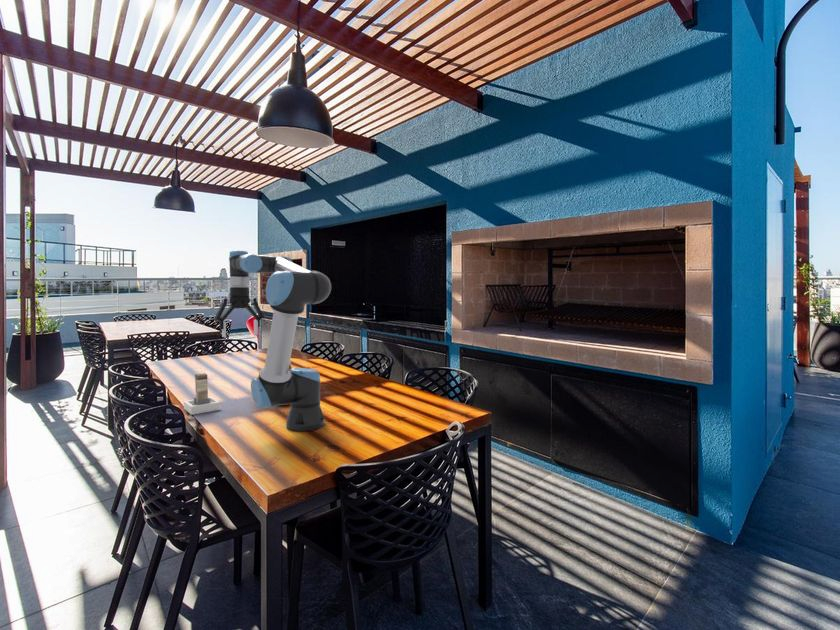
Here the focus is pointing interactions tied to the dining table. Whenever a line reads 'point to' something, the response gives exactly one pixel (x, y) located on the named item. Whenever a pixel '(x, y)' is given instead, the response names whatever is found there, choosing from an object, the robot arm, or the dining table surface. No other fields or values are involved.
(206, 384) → the wood grain beam
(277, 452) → the dining table surface
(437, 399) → the dining table surface
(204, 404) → the white square frame
